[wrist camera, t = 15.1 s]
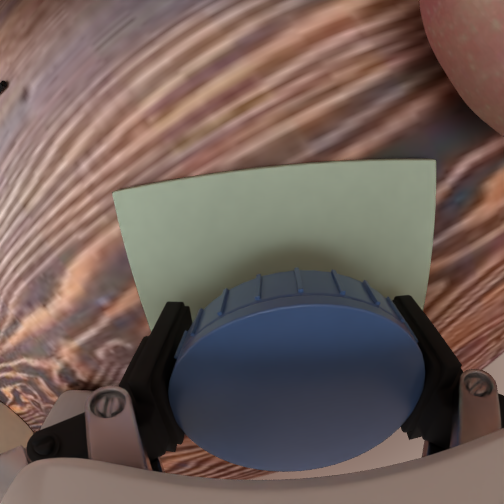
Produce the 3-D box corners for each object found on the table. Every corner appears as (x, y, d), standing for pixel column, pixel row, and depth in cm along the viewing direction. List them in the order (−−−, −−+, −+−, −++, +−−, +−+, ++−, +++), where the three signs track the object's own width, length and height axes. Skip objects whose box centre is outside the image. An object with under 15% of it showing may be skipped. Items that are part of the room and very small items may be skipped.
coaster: (400, 387, 13) (402, 392, 12) (186, 408, 14) (184, 414, 13) (430, 158, 9) (436, 159, 8) (116, 190, 10) (111, 192, 9)
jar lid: (172, 256, 7) (147, 288, 6) (435, 273, 7) (465, 303, 6) (189, 428, 10) (181, 463, 8) (369, 432, 10) (378, 465, 8)
